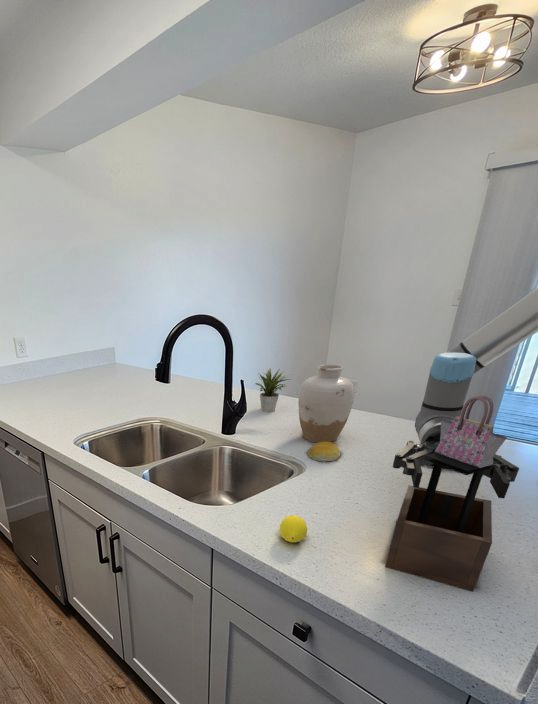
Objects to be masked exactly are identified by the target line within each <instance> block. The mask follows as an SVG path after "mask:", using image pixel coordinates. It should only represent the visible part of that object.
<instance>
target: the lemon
mask: <svg viewBox="0 0 538 704" xmlns="http://www.w3.org/2000/svg"><path fill="white" fill-rule="evenodd" d="M279 533H280V537H282V539H284V540H285V542H289V543H298V542H300V541H303V540H304V538H305V537H306V536H307V533H308V526H307V522H306V521H305V520H304V518H302V517H300V516H298V515H295V514H294V515H287V516H286V517H285V518H283V519H282V520H281V523H280V524H279Z"/></svg>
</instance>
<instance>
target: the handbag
mask: <svg viewBox="0 0 538 704" xmlns="http://www.w3.org/2000/svg"><path fill="white" fill-rule="evenodd" d="M476 401H480V402H481V403H482V404H483V409H484V410H483V414H482V418H481V420H480V421H477V420H476V421H475V420H472V419H469V418H470V415H471V411H472V408H473V406H474V405H475V403H476ZM493 413H494V401H493V399H492V398H491V397H489V396H487V395H482V394H481V395H477V396H472V397H470V398H469V399H468V400H466V401H465V402H464V404H463V409H462V412H461V416H460V417H455V420H454V421H453V422H452V421H449V420H443V421H441V436H440V443H439V445H438V447H437V448H436V450H435V452H436V453H432V454H428V455H425V456H427V457H429V458H425V459H424V460H427V461H430V462H432V463H434V466H432V470H431V474H430V477H429V480H428V484H427V487H426V489H427V491H426V494H425V498H424V501H423V505H422V508H421V512H420V515H419V519H418V522H417V523H421V524H425V525H426V521H427V518H428V515H429V511H430V508H431V504H432V501H433V498H434V494H435V491H436V490H437V487H438V485H439V481H440V478H441V475H442V470H443V469H444V468H443V467H446V468H445V469H447V470H448V469H449V470H451V471H454V472H456V473H459V474H462V475H465V476H469V475H472V476H471V479H470V482H469V485H468V488H467V491H466V493H465V496H466V497H465V500H464V503H463V506H462V509H461V512H460V515H459V518H458V521H457V524H456V527H455V530H454V531H456V532H461V533H463V530H464V528H465V525H466V522H467V519H468V516H469V513H470V510H471V507H472V504H473V502H474V499H475V498H476V496H477V492H478V490H479V487H480V484H481V481H482V478H483V476H484V475H483V473H484V470H487V469H490V468H494V467H497V466H496V465H493V464H496V463H499V462H497V461H493V457H494V455H495V454H496V455H497V452H498V451H499V449H500V448H501V446H502V445H503V444H504V442H505V441H506V440H507V438H508V437H507V436H505V435H504V434H503V435H502V434H498V433H494V427H495V426H494V425H491V424H490V422H491V419H492V417H493ZM453 501H454V499H453V498H451V497H448V496H446V497H443V499H442V502H441V505H440V508H439V511H438V515H437V516H438V517H440V518H443V519H445V518H448V516H449V513H450V510H451V507H452V504H453Z"/></svg>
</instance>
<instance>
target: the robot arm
mask: <svg viewBox="0 0 538 704" xmlns="http://www.w3.org/2000/svg"><path fill="white" fill-rule="evenodd" d="M537 333H538V287H537V288H535V289H533V290H532V291H531V292H530V293H528V294H527V295H525V296H524V297H522V298H520V300H518V301H517V302H515V303H513V305H511V306H510V307H509V308H507V309H505V310H504V311H503V312H502V313H500V314H498V315H497V316H496V317H494V318H493V319H492V320H490V321H489V322H487V323H486V324H485V325H483V326H482V327H481V328H479V329H478V330H476V331H475V332H473V333H472V334H471V335H469V336H468V337H467V338H465V339H463V340H462V341H461V342H460V343H459V344H457V345H456V346H454V347H453V348H451V349H449V350H448V351H445V352H441V353H438V354H437V355H435V356H434V358H433V360H432V363H431V366H430V369H429V373H428V378H427V382H426V386H425V392H424V397H423V400H422V402H421V407H420V411H419V412H418V413H417V414H416V417H415V421H414V428H415V432H416V434H417V436H418V440H419V444H421V446H419V444H417V443H415V441H414V440H407V442H406V445H405V446H404V447H403V448H402V449H401V450H399V451H398V452H396V454H395V456H394V458H393V463H392V468H393V469H400V468H403V470H402V474H403V475H406V476H411V480H412V486H413V487H417V488H419V487H420V484H421V481H422V477H423V470H422V467H423V466H425V465H427V464H433V463H432V462H430V461H427V460H424V459H425V458H429V457H427V456H425V455H428V454H432V453H436V452H435V450H436V448H437V447H438V445H439V443H440V436H441V421H443V420H449V421H452V422H453V421H454V420H455V417H461V413H462V410H463V407H464V405H465V402H466V398H467V395H468V391H469V389H470V385H471V382H472V378H473V376H474V374H476V373H478V372H479V371H481V370H482V369H483V368H485V367H486V366H488V365H489V364H491V363H493V362H494V361H495V360H497V359H499V358H500V357H502V356H503V355H505V354H506V353H508V352H509V351H511V350H512V349H514V348H515V347H517V346H518V345H520V344H521V343H523V342H524V341H526V340H527V339H529V338H531V337H532V336H534V335H536V334H537ZM417 452H418V453H417ZM498 455H499V454H497V453H496V454H495V455H494V457H493V461H497V462H499V463H496V464H493V465H496V466H497V467H494V468H490V469H487V470H484V473H483V476H484V477H486V478H488V479H490V480H489V483H490V485H491V486H492V489H493V490H494V492H495V494H496V496H497V498H498V499H503V500H504V499H505V498H506V495H507V493H508V491H509V487H510V485H511V482H512V483H513V482H515V481H516V478H517V477H518V474H519V470H520V467H518V466H517V465H515V464H514V463H512V462H509V461H508V460H506V459H505V458H503V457H500V456H501V455H500V456H498Z"/></svg>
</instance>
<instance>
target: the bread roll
mask: <svg viewBox="0 0 538 704" xmlns="http://www.w3.org/2000/svg"><path fill="white" fill-rule="evenodd" d="M307 454H308V456H309V458H310V459H312V460H314V461H317V462H325V463H326V462H334V461H337V460H338V459H339V458H340V456H341V450H340V448H339V446H338V445H336V444H335V443H334V442H319V443H315V444H314V445H312V447H311V448H310V449H309V450H308V453H307Z"/></svg>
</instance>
